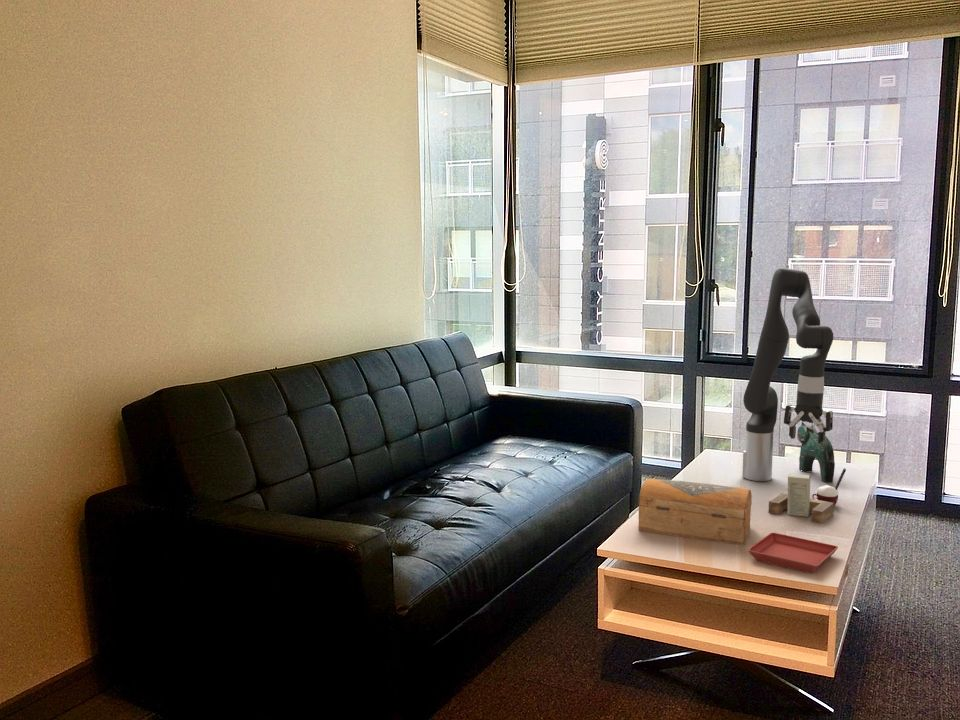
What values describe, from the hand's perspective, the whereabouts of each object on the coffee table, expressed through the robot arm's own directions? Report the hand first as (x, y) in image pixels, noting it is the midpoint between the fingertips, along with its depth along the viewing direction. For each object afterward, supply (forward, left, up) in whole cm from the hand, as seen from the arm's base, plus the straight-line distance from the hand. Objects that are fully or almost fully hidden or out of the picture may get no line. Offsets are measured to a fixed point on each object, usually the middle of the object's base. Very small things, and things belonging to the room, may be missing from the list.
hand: (806, 440), depth 255 cm
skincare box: (+1, -7, -22) cm, 23 cm away
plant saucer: (+12, -44, -22) cm, 51 cm away
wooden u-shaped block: (+1, -5, -22) cm, 22 cm away
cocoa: (+5, +8, -22) cm, 24 cm away
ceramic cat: (-9, +40, -22) cm, 47 cm away
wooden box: (-18, -39, -22) cm, 49 cm away
